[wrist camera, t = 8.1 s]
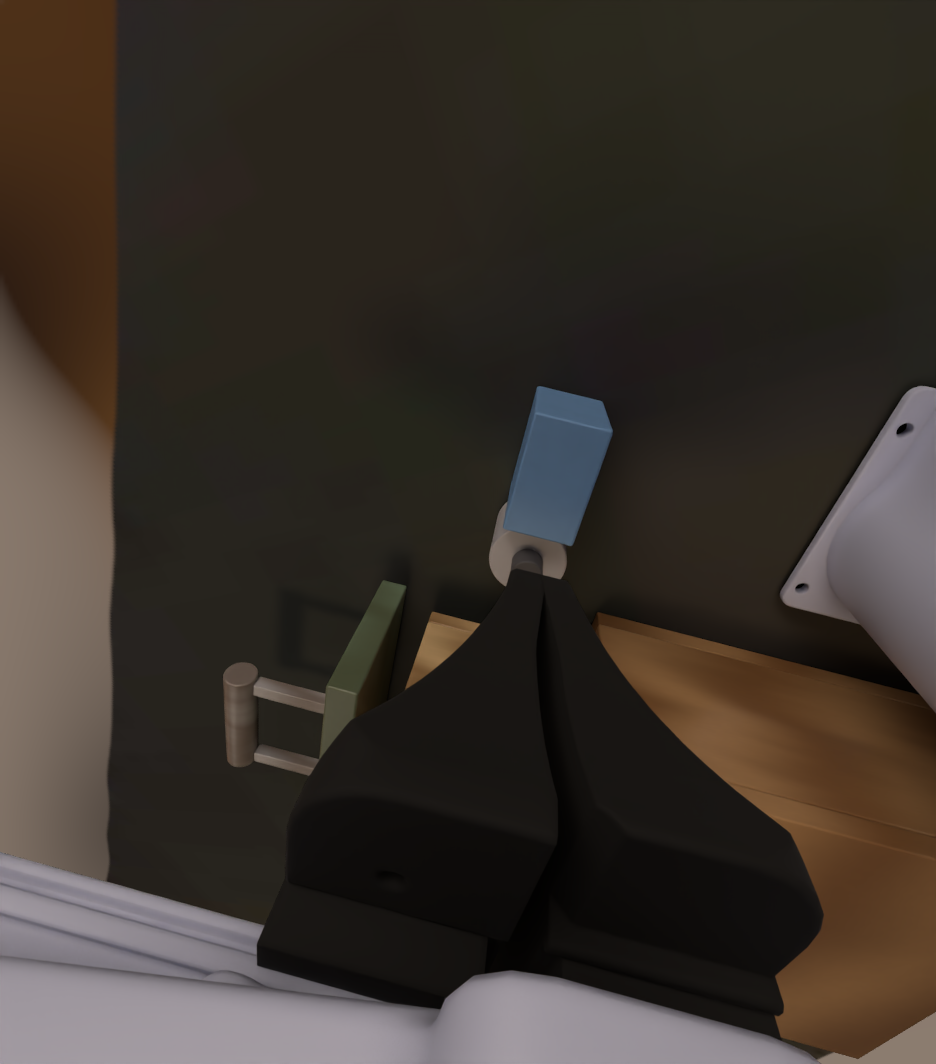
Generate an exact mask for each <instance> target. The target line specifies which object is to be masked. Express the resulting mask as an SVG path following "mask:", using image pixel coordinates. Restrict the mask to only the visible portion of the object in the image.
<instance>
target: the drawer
mask: <svg viewBox="0 0 936 1064" xmlns="http://www.w3.org/2000/svg"><path fill="white" fill-rule="evenodd" d="M406 589H407V587H406V586H404V585H401V584H397V583H393V582H389V581H385V580H383V581H382V583H381V585H380V586H379V588H378V590H377V592H376V594H375V596H374V598H373V600H372V601H371V603H370V605H369V607H368V609H367V611H366V613H365V615H364V616H363V618H362V620H361V622H360V624H359V626H358V628H357V630H356V631H355V633H354V635H353V637H352V639H351V641H350V643H349V645H348V646H347V648H346V650H345V652H344V654H343V656H342V658H341V659H340V661H339V663H338V665H337V667H336V669H335V671H334V673H333V674H332V676H331V678H330V680H329V682H328V684H327V686H326V694H324V693H320V692H316V691H312V690H309V689H305V688H301V687H297V686H294V685H290V684H286V683H282V682H279V681H275V680H271V679H267V678H264V677H259V673H258V669H257V668H256V667H255V666H254V665H253V664H250V663H246V662H242V663H236V664H234V665H231V666H230V667H228V668H227V669H226V671H225V672H224V675H223V687H224V708H225V730H226V752H227V760H228V762H229V763H230V764H231V765H232V766H235V767H244V766H247V765H249V764H251V763H252V762H253V761H257V762H261V763H264V764H268V765H272V766H275V767H279V768H283V769H286V770H290V771H294V772H297V773H301V774H305V775H308V776H310V774H311V772H312V771H313V769H314V768H315V766H316V764H317V763H318V761H319V760H320V759H315V758H312V757H308V756H304V755H301V754H297V753H293V752H290V751H286V750H282V749H278V748H275V747H271V746H267V745H264V744H259V746H258V697H262V698H266V699H269V700H273V701H277V702H280V703H284V704H288V705H292V706H295V707H299V708H303V709H307V710H310V711H314V712H318V713H321V714H324V716H323V726H322V737H321V748H320V758H321V757H322V755H323V754H324V753H325V751H326V750H327V749H328V747H329V746H330V745H331V743H332V742H333V741H334V740H335V738H336V737H337V736H338V735H339V733H340V732H341V731H342V730H343V729H344V727H345V726H346V725H347V724H348V723H349V722H350V720H352V719H354V718H356V717H358V716H360V715H362V714H364V713H366V712H367V711H369V710H371V709H373V708H375V707H377V706H379V705H381V704H383V703H385V702H386V701H387V696H388V690H389V685H390V679H391V673H392V668H393V662H394V657H395V651H396V645H397V640H398V634H399V629H400V623H401V617H402V612H403V606H404V601H405V595H406ZM479 625H480V624H479V623H475V622H471V621H467V620H463V619H459V618H455V617H452V616H448V615H444V614H440V613H436V612H432V613H431V616H430V618H429V621H428V624H427V627H426V630H425V633H424V636H423V639H422V641H421V644H420V647H419V650H418V653H417V656H416V659H415V662H414V665H413V667H412V670H411V673H410V676H409V679H408V682H407V685H406V688H405V689H407V688H408V687H410V686H411V685H413V684H414V683H416V682H417V681H419V680H420V679H422V678H423V677H425V676H426V675H427V674H429V673H430V672H431V671H433V670H434V669H435V668H436V667H437V666H439V665H440V664H441V663H442V662H443V661H444V660H446V659H447V658H448V657H449V656H450V655H451V654H452V653H454V652H455V651H456V650H457V649H458V648H459V647H460V646H461V645H462V644H463V643H464V642H465V641H466V640H467V639H468V638H469V637H470V635H471V634H472V633H473V632H474V631H475V630H476V629H477V627H478V626H479ZM258 678H259V679H258Z"/></svg>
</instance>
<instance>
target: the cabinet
mask: <svg viewBox="0 0 936 1064" xmlns="http://www.w3.org/2000/svg"><path fill="white" fill-rule="evenodd" d="M592 627H593V629H594V631H595V632H596V634H597V636H598V637H599V639H600V641H601V643H602V644H603V646H604V647H605V649H606V651H607V652H608V654H609V655H610V656H611V658H612V659H613V661H614V662H615V664H616V665H617V667H618V668H619V669H620V671H621V672H622V674H623V675H624V676H625V678H626V679H627V680H628V682H629V683H630V684H631V685H632V687H633V688H634V689H635V690H636V692H637V693H638V694H639V695H640V696H641V698H642V699H643V700H644V701H645V702H646V704H647V705H648V706H649V707H650V708H651V709H652V711H653V712H654V713H655V714H656V715H657V716H658V717H659V718H660V719H661V721H662V722H663V723H664V724H665V725H666V726H667V727H668V728H669V729H670V730H671V731H672V732H673V733H674V734H675V735H676V736H677V737H678V738H679V739H680V740H681V741H682V742H683V743H684V744H685V745H686V746H687V747H688V748H689V749H690V750H691V751H692V752H693V753H694V754H695V755H696V756H697V757H699V758H700V759H701V760H702V761H703V762H704V763H705V764H706V765H707V766H708V767H710V768H711V769H712V770H713V771H714V772H715V773H716V774H718V775H719V776H720V777H721V778H722V779H723V780H724V781H725V782H727V783H728V784H729V785H730V786H731V787H732V788H734V789H735V790H736V791H737V792H738V793H740V794H741V795H742V796H744V797H745V798H746V799H747V800H749V801H750V802H751V803H753V804H754V805H755V806H756V807H758V808H759V809H760V810H762V811H763V812H764V813H765V814H767V815H768V816H769V817H771V818H772V819H773V820H774V821H776V822H777V823H778V824H780V825H781V826H782V827H783V828H785V829H786V830H787V831H788V832H790V833H791V836H792V838H793V840H794V842H795V844H796V846H797V848H798V850H799V852H800V854H801V857H802V859H803V861H804V863H805V866H806V868H807V871H808V873H809V876H810V878H811V881H812V883H813V885H814V888H815V890H816V893H817V895H818V898H819V901H820V904H821V907H822V910H823V913H824V917H823V922H822V927H821V930H820V932H819V933H818V935H817V936H816V937H815V939H814V940H813V941H812V942H811V944H810V945H809V946H808V947H807V948H806V949H805V950H804V951H803V952H802V953H801V954H799V955H798V956H797V957H796V958H795V959H794V960H793V961H792V962H790V963H789V964H788V965H787V966H786V967H785V968H784V969H782V970H781V971H780V972H779V973H778V974H777V975H776V976H775V977H776V980H777V984H778V987H779V990H780V993H781V997H782V1000H783V1003H784V1013H783V1014H781V1015H780V1016H779V1017H778V1016H775V1019H776V1022H777V1026H778V1029H779V1032H780V1036H781V1037H782V1038H785V1039H789V1040H792V1041H796V1042H799V1043H803V1044H807V1045H810V1046H814V1047H817V1048H821V1049H824V1050H828V1051H832V1052H835V1053H839V1054H842V1055H846V1056H849V1057H853V1058H857V1059H859V1058H860V1057H862V1056H864V1055H865V1054H867V1053H868V1052H870V1051H872V1050H874V1049H875V1048H876V1047H878V1046H880V1045H882V1044H883V1043H885V1042H887V1041H888V1040H890V1039H892V1038H893V1037H895V1036H897V1035H898V1034H900V1033H902V1032H903V1031H905V1030H906V1029H908V1028H910V1027H911V1026H913V1025H915V1024H916V1023H918V1022H919V1021H921V1020H923V1019H925V1018H926V1017H927V1016H930V1015H931V1014H933V1013H934V1012H936V713H935V712H934V711H933V709H932V708H931V707H930V706H929V705H928V703H927V702H926V701H925V700H924V699H923V698H922V696H921V695H918V694H914V693H911V692H907V691H903V690H899V689H895V688H891V687H887V686H883V685H879V684H876V683H872V682H868V681H864V680H860V679H856V678H852V677H848V676H844V675H841V674H837V673H833V672H829V671H825V670H821V669H817V668H813V667H809V666H806V665H802V664H798V663H794V662H790V661H786V660H782V659H778V658H774V657H771V656H767V655H763V654H759V653H755V652H751V651H747V650H743V649H739V648H736V647H732V646H728V645H724V644H720V643H716V642H712V641H708V640H704V639H701V638H697V637H693V636H689V635H685V634H681V633H677V632H673V631H669V630H666V629H662V628H658V627H654V626H650V625H646V624H642V623H638V622H634V621H631V620H627V619H623V618H619V617H615V616H611V615H607V614H603V613H599V612H597V614H596V616H595V618H594V621H593V623H592Z"/></svg>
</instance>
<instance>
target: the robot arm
mask: <svg viewBox="0 0 936 1064" xmlns="http://www.w3.org/2000/svg"><path fill="white" fill-rule="evenodd" d="M905 423H907V427H906V429H905V430H904V431H903V432H902V433H900V434H896V431H897V429H898V428H899V427H900V426H901V425H902V424H905ZM801 583H805V584H804V586H802V587H801V588H795V587H796V586H797V585H798V584H801ZM780 598H781V599H782V601H783V602H784V603H785V605H787V606H790V607H794V608H798V609H802V610H806V611H810V612H813V613H817V614H821V615H825V616H829V617H833V618H837V619H841V620H845V621H849V622H853V623H857V624H861V626H862V627H863V628H864V629H865V630H866V632H867V633H868V634H869V635H870V636H871V637H872V639H873V640H874V641H875V642H876V643H877V645H878V646H879V647H880V648H881V649H882V650H883V652H884V653H885V654H886V655H887V656H888V657H889V659H890V660H891V661H892V662H893V663H894V665H895V666H896V667H897V668H898V669H899V670H900V672H901V673H902V674H903V675H904V676H905V678H906V679H907V680H908V681H909V682H910V683H911V685H912V686H913V687H914V688H915V689H916V690H917V692H918V693H919V694H920V695H921V696H922V698H923V699H924V700H925V701H926V702H927V703H928V705H929V706H930V707H931V708H932V709H933V711H934V712H935V713H936V389H935V388H931V387H927V386H918V387H915V388H912V389H911V390H909V391H907V392H906V394H905V395H904V396H903V397H902V399H901V400H900V402H899V403H898V405H897V406H896V408H895V410H894V411H893V413H892V414H891V416H890V418H889V419H888V421H887V422H886V424H885V426H884V427H883V429H882V430H881V432H880V434H879V435H878V437H877V438H876V440H875V441H874V443H873V445H872V446H871V448H870V449H869V451H868V453H867V454H866V456H865V457H864V459H863V461H862V462H861V464H860V465H859V467H858V469H857V470H856V472H855V473H854V475H853V477H852V478H851V480H850V481H849V483H848V484H847V486H846V488H845V489H844V491H843V492H842V494H841V496H840V497H839V499H838V500H837V502H836V504H835V505H834V507H833V508H832V510H831V512H830V513H829V515H828V516H827V518H826V519H825V521H824V523H823V524H822V526H821V527H820V529H819V531H818V532H817V534H816V535H815V537H814V539H813V540H812V542H811V543H810V545H809V547H808V548H807V550H806V551H805V553H804V555H803V556H802V558H801V559H800V561H799V562H798V564H797V566H796V567H795V569H794V570H793V572H792V574H791V575H790V577H789V578H788V580H787V582H786V583H785V585H784V586H783V588H782V590H781V592H780ZM823 917H824V913H823V910H822V907H821V904H820V901H819V898H818V895H817V893H816V890H815V888H814V885H813V883H812V881H811V878H810V876H809V873H808V871H807V868H806V866H805V863H804V861H803V859H802V857H801V854H800V852H799V850H798V848H797V846H796V844H795V842H794V840H793V838H792V836H791V833H790V832H788V831H787V830H786V829H785V828H783V827H782V826H781V825H780V824H778V823H777V822H776V821H774V820H773V819H772V818H771V817H769V816H768V815H767V814H765V813H764V812H763V811H762V810H760V809H759V808H758V807H756V806H755V805H754V804H753V803H751V802H750V801H749V800H747V799H746V798H745V797H744V796H742V795H741V794H740V793H738V792H737V791H736V790H735V789H734V788H732V787H731V786H730V785H729V784H728V783H727V782H725V781H724V780H723V779H722V778H721V777H720V776H719V775H718V774H716V773H715V772H714V771H713V770H712V769H711V768H710V767H708V766H707V765H706V764H705V763H704V762H703V761H702V760H701V759H700V758H699V757H697V756H696V755H695V754H694V753H693V752H692V751H691V750H690V749H689V748H688V747H687V746H686V745H685V744H684V743H683V742H682V741H681V740H680V739H679V738H678V737H677V736H676V735H675V734H674V733H673V732H672V731H671V730H670V729H669V728H668V727H667V726H666V725H665V724H664V723H663V722H662V721H661V719H660V718H659V717H658V716H657V715H656V714H655V713H654V712H653V711H652V709H651V708H650V707H649V706H648V705H647V704H646V702H645V701H644V700H643V699H642V698H641V696H640V695H639V694H638V693H637V692H636V690H635V689H634V688H633V687H632V685H631V684H630V683H629V682H628V680H627V679H626V678H625V676H624V675H623V674H622V672H621V671H620V669H619V668H618V667H617V665H616V664H615V662H614V661H613V659H612V658H611V656H610V655H609V654H608V652H607V651H606V649H605V647H604V646H603V644H602V643H601V641H600V639H599V637H598V636H597V634H596V632H595V631H594V629H593V627H592V626H591V624H590V622H589V620H588V618H587V617H586V615H585V613H584V611H583V609H582V607H581V605H580V604H579V602H578V600H577V598H576V596H575V594H574V592H573V590H572V588H571V586H570V584H569V583H568V581H566V580H562V579H558V578H553V577H549V576H545V575H541V574H537V573H533V572H529V571H525V570H521V569H517V568H516V569H514V570H512V571H510V574H509V578H508V581H507V585H506V587H505V589H504V591H503V593H502V594H501V596H500V598H499V599H498V601H497V602H496V604H495V605H494V607H493V608H492V610H491V611H490V613H489V614H488V615H487V616H486V618H485V619H484V620H483V621H482V623H481V624H480V625H479V626H478V627H477V629H476V630H475V631H474V632H473V633H472V634H471V635H470V637H469V638H468V639H467V640H466V641H465V642H464V643H463V644H462V645H461V646H460V647H459V648H458V649H457V650H456V651H455V652H454V653H452V654H451V655H450V656H449V657H448V658H447V659H446V660H444V661H443V662H442V663H441V664H440V665H439V666H437V667H436V668H435V669H434V670H433V671H431V672H430V673H429V674H427V675H426V676H425V677H423V678H422V679H420V680H419V681H417V682H416V683H414V684H413V685H411V686H410V687H408V688H407V689H405V690H404V691H402V692H401V693H399V694H398V695H396V696H395V697H393V698H392V699H390V700H388V701H386V702H385V703H383V704H381V705H379V706H377V707H375V708H373V709H371V710H369V711H367V712H366V713H364V714H362V715H360V716H358V717H356V718H354V719H352V720H350V722H349V723H348V724H347V725H346V726H345V727H344V729H343V730H342V731H341V732H340V733H339V735H338V736H337V737H336V738H335V740H334V741H333V742H332V743H331V745H330V746H329V747H328V749H327V750H326V751H325V753H324V754H323V755H322V757H321V758H320V760H319V761H318V763H317V764H316V766H315V768H314V769H313V771H312V772H311V774H310V776H309V777H308V779H307V781H306V783H305V785H304V787H303V789H302V791H301V793H300V795H299V797H298V799H297V801H296V804H295V806H294V808H293V810H292V812H291V814H290V818H289V822H288V825H287V834H286V863H285V880H284V882H283V884H282V887H281V889H280V891H279V894H278V896H277V898H276V900H275V903H274V905H273V907H272V910H271V912H270V914H269V917H268V919H267V921H266V923H265V926H264V925H260V924H257V923H253V922H249V921H246V920H242V919H239V918H235V917H231V916H228V915H224V914H221V913H217V912H214V911H210V910H206V909H203V908H199V907H196V906H192V905H188V904H185V903H181V902H178V901H174V900H170V899H167V898H163V897H160V896H156V895H152V894H149V893H145V892H142V891H138V890H135V889H131V888H127V887H124V886H120V885H117V884H113V883H109V882H106V881H102V880H98V879H95V878H91V877H88V876H84V875H81V874H77V873H73V872H70V871H66V870H63V869H59V868H56V867H51V866H48V865H44V864H41V863H38V862H34V861H30V860H27V859H23V858H20V857H16V856H12V855H9V854H5V853H2V852H0V1064H821V1063H819V1062H818V1061H817V1060H816V1059H815V1058H814V1057H812V1056H811V1055H810V1054H809V1053H808V1052H806V1051H803V1050H801V1049H799V1048H796V1047H794V1046H792V1045H790V1044H787V1043H785V1042H783V1041H782V1039H781V1036H780V1032H779V1029H778V1026H777V1022H776V1019H775V1016H778V1017H779V1016H780V1015H781V1014H783V1013H784V1003H783V1000H782V997H781V993H780V990H779V987H778V984H777V980H776V977H775V976H776V975H777V974H778V973H779V972H780V971H781V970H782V969H784V968H785V967H786V966H787V965H788V964H789V963H790V962H792V961H793V960H794V959H795V958H796V957H797V956H798V955H799V954H801V953H802V952H803V951H804V950H805V949H806V948H807V947H808V946H809V945H810V944H811V942H812V941H813V940H814V939H815V937H816V936H817V935H818V933H819V932H820V930H821V927H822V922H823Z"/></svg>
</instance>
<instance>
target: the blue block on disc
mask: <svg viewBox="0 0 936 1064" xmlns="http://www.w3.org/2000/svg"><path fill="white" fill-rule="evenodd" d="M612 435H613V430H612V427H611V424H610V421H609V419H608V416H607V413H606V410H605V407H604V404H603V402H602V401H599V400H595V399H591V398H587V397H583V396H578V395H574V394H570V393H566V392H562V391H558V390H554V389H550V388H546V387H542V386H538V387H537V390H536V393H535V397H534V401H533V405H532V408H531V412H530V416H529V419H528V423H527V427H526V431H525V434H524V438H523V442H522V445H521V449H520V453H519V456H518V460H517V464H516V468H515V471H514V475H513V479H512V482H511V486H510V492H509V497H508V502H506V503H505V504H504V505H503V507H502V508H501V510H500V512H499V514H498V517H497V521H496V526H495V531H494V535H493V540H492V544H491V549H490V554H489V563H490V567H491V570H492V572H493V574H494V576H495V577H496V578H497V580H498V581H499V582H500V583H502V584H503V585H504V586H506V585H507V581H508V578H509V574H510V571H512V570H514V569H516V568H517V569H521V570H525V571H529V572H533V573H537V574H541V575H545V576H549V577H553V578H558V579H561V577H562V576H563V574H564V572H565V569H566V565H567V553H566V545H568V546H572V545H573V544H574V541H575V538H576V535H577V532H578V530H579V527H580V524H581V521H582V518H583V516H584V513H585V510H586V507H587V505H588V502H589V499H590V496H591V493H592V491H593V488H594V485H595V482H596V479H597V477H598V474H599V471H600V468H601V466H602V463H603V460H604V457H605V454H606V452H607V449H608V446H609V443H610V440H611V438H612Z"/></svg>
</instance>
